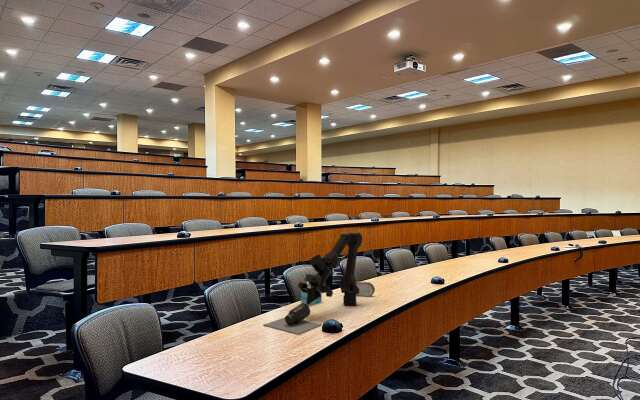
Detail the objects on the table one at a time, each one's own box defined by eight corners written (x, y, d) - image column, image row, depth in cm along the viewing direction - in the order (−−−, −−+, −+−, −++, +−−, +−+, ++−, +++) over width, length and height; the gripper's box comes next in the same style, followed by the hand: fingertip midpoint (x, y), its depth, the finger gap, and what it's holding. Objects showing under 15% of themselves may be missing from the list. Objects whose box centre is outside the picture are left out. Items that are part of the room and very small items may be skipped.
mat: (287, 317, 205) (287, 316, 205) (322, 325, 191) (322, 324, 191) (263, 325, 193) (263, 324, 193) (298, 334, 179) (298, 333, 179)
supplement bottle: (297, 307, 202) (280, 318, 193) (303, 299, 198) (286, 310, 189) (307, 318, 199) (290, 330, 190) (313, 311, 196) (296, 322, 186)
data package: (306, 306, 225) (306, 284, 225) (300, 305, 228) (300, 283, 228) (321, 302, 234) (321, 280, 234) (316, 301, 237) (315, 280, 237)
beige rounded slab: (374, 296, 246) (374, 282, 246) (373, 297, 243) (373, 283, 243) (350, 294, 251) (349, 280, 251) (348, 296, 248) (348, 281, 248)
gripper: (299, 266, 210) (284, 291, 201) (328, 269, 198) (314, 297, 190) (310, 279, 216) (296, 304, 208) (339, 283, 204) (325, 310, 196)
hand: (307, 304), depth 200 cm, fingers closed
